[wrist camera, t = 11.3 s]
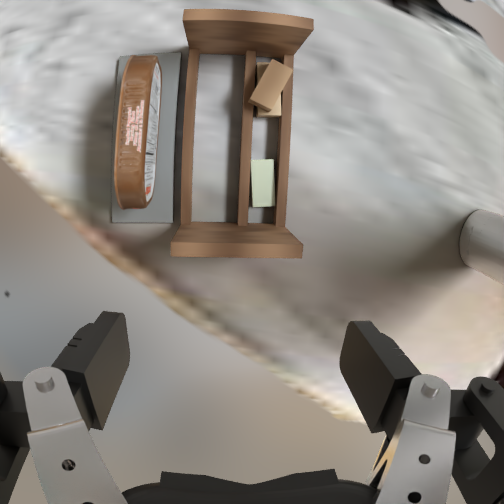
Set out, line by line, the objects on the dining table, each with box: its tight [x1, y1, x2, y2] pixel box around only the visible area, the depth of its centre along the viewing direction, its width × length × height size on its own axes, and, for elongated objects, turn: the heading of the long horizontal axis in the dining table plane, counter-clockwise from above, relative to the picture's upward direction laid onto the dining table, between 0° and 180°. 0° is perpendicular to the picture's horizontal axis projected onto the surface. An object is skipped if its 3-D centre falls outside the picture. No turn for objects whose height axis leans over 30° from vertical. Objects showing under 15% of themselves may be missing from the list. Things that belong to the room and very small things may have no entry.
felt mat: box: [111, 52, 182, 223], centre depth 30 cm, size 7×19×1 cm, turn 177°
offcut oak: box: [248, 59, 293, 112], centre depth 28 cm, size 2×5×2 cm, turn 154°
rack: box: [171, 9, 314, 258], centre depth 27 cm, size 11×21×9 cm, turn 177°
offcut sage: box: [250, 159, 275, 207], centre depth 33 cm, size 2×5×1 cm, turn 3°
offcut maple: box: [255, 62, 281, 118], centre depth 30 cm, size 2×6×2 cm, turn 1°
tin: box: [114, 55, 162, 210], centre depth 26 cm, size 15×3×8 cm, turn 176°
